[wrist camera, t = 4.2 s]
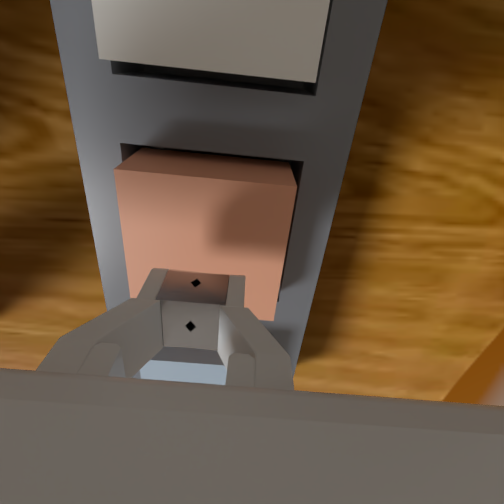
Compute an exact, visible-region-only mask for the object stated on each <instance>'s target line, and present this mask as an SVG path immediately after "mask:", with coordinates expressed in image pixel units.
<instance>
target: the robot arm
mask: <svg viewBox="0 0 504 504" xmlns="http://www.w3.org/2000/svg"><path fill="white" fill-rule="evenodd" d="M229 277H230V278H229ZM245 279H246V277H245V275H225V274H211V273H200V272H193V271H184V270H175V269H165V268H153V269H151V271H150V273H149V275H148V277H147V279H146V281H145V283H144V284H143V286H142V288H141V290H140V292H139V294H138V296H137V298H131V299H129V300H127V301H125V302H123V303H121V304H120V305H118V306H116V307H114V308H112V309H111V310H109V311H107V312H105V313H103V314H102V315H100V316H98V317H96V318H94V319H93V320H91V321H89V322H87V323H85V324H83V325H82V326H80V327H78V328H76V329H74V330H73V331H71V332H69V333H67V334H65V335H64V336H62V337H60V338H59V339H58V341H57V342H56V343H55V345H54V346H53V348H52V349H51V350H50V352H49V353H48V354H47V356H46V357H45V358H44V360H43V361H42V363H41V364H40V365H39V367H38V368H37V369H36V371H32V370H19V369H6V368H0V504H504V406H494V405H480V404H468V403H467V404H466V403H454V402H442V401H428V400H415V399H402V398H389V397H376V396H363V395H349V394H335V393H321V392H308V391H295V390H294V385H293V376H292V367H291V358H290V356H289V354H288V353H287V352H286V351H285V350H284V349H283V347H282V346H281V345H280V344H279V343H278V342H277V340H276V339H275V338H274V337H273V336H272V335H271V334H270V332H269V331H268V330H267V329H266V328H265V327H264V325H263V324H262V323H261V322H260V321H259V320H258V318H257V317H256V316H255V315H254V314H253V313H252V311H251V310H250V309H249V308H245V307H244V297H245ZM163 346H164V347H183V348H196V349H205V350H215V351H218V354H219V356H220V358H221V360H222V362H223V364H224V366H225V368H226V369H227V375H226V383H225V385H218V384H205V383H192V382H178V381H165V380H152V379H138V378H132V377H133V376H134V375H135V374H136V373H137V372H138V371H139V370H140V369H141V368H142V367H143V366H144V365H145V364H146V363H148V362H149V361H150V360H151V359H152V358H153V357H154V356H155V355H156V354H157V353H158V352H159V351H160V350H161V349H162V348H163Z"/></svg>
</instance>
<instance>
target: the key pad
mask: <svg viewBox="0 0 504 504" xmlns="http://www.w3.org/2000/svg"><path fill="white" fill-rule="evenodd" d="M50 4H51V9H52V15H53V20H54V26H55V31H56V36H57V42H58V47H59V53H60V58H61V63H62V69H63V74H64V80H65V85H66V91H67V96H68V101H69V107H70V112H71V118H72V123H73V129H74V134H75V139H76V145H77V150H78V156H79V161H80V166H81V172H82V177H83V183H84V188H85V194H86V199H87V204H88V210H89V215H90V221H91V226H92V232H93V237H94V242H95V248H96V253H97V259H98V264H99V269H100V275H101V280H102V286H103V291H104V297H105V302H106V307H107V311H109V310H111V309H112V308H114V307H116V306H118V305H120V304H121V303H123V302H125V301H127V300H129V299H130V291H129V284H128V276H127V268H126V261H125V253H124V246H123V238H122V230H121V223H120V215H119V207H118V200H117V192H116V185H115V177H114V168H116V167H117V166H118V165H120V164H121V163H122V162H124V161H125V160H126V159H128V158H129V157H130V156H132V155H133V154H134V153H136V152H137V151H138V150H139V149H141V148H151V149H161V150H171V151H182V152H192V153H202V154H212V155H222V156H232V157H242V158H252V159H262V160H272V161H282V162H289V164H290V167H291V170H292V173H293V176H294V179H295V182H296V185H297V191H296V196H295V202H294V208H293V213H292V219H291V225H290V230H289V236H288V242H287V247H286V253H285V259H284V264H283V270H282V276H281V281H280V287H279V293H278V298H277V304H276V310H275V315H274V321H267V320H259V321H260V322H261V323H262V324H263V325H264V327H265V328H266V329H267V330H268V331H269V332H270V334H271V335H272V336H273V337H274V338H275V339H276V340H277V342H278V343H279V344H280V345H281V346H282V347H283V349H284V350H285V351H286V352H287V353H288V354H289V356H290V358H291V367H292V376H294V372H295V368H296V364H297V360H298V356H299V352H300V348H301V344H302V340H303V336H304V332H305V328H306V324H307V320H308V316H309V312H310V308H311V304H312V300H313V296H314V292H315V288H316V284H317V280H318V276H319V272H320V268H321V264H322V260H323V256H324V252H325V248H326V244H327V240H328V236H329V232H330V228H331V224H332V220H333V216H334V212H335V208H336V204H337V200H338V196H339V192H340V188H341V184H342V180H343V176H344V172H345V168H346V164H347V160H348V156H349V152H350V148H351V144H352V140H353V136H354V132H355V128H356V124H357V120H358V116H359V112H360V108H361V104H362V100H363V96H364V92H365V88H366V84H367V80H368V76H369V72H370V68H371V64H372V60H373V56H374V52H375V48H376V44H377V40H378V36H379V32H380V28H381V24H382V20H383V16H384V12H385V8H386V4H387V0H330V3H329V9H328V14H327V20H326V26H325V32H324V37H323V43H322V49H321V54H320V60H319V66H318V71H317V77H316V83H313V82H304V81H295V80H285V79H276V78H267V77H258V76H249V75H240V74H231V73H222V72H213V71H204V70H195V69H186V68H177V67H167V66H158V65H149V64H140V63H131V62H122V61H113V60H104V59H99V55H98V47H97V40H96V32H95V24H94V17H93V9H92V1H91V0H50ZM132 378H138V379H141V375H140V370H139V371H138V372H137V373H136V374H135V375H134V376H133V377H132Z"/></svg>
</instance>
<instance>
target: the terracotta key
mask: <svg viewBox="0 0 504 504" xmlns="http://www.w3.org/2000/svg"><path fill="white" fill-rule="evenodd" d="M114 177H115V185H116V192H117V200H118V207H119V215H120V223H121V230H122V238H123V246H124V253H125V261H126V268H127V276H128V284H129V291H130V299H131V298H137V296H138V294H139V292H140V290H141V288H142V286H143V284H144V283H145V281H146V279H147V277H148V275H149V273H150V271H151V269H153V268H165V269H175V270H184V271H193V272H200V273H211V274H225V275H245V277H246V279H245V297H244V307H245V308H249V309H250V310H251V311H252V313H253V314H254V315H255V316H256V317H257V318H258V320H267V321H274V315H275V310H276V304H277V298H278V293H279V287H280V281H281V276H282V270H283V264H284V259H285V253H286V247H287V242H288V236H289V230H290V225H291V219H292V213H293V208H294V202H295V196H296V191H297V185H296V182H295V179H294V176H293V173H292V170H291V167H290V164H289V162H282V161H272V160H262V159H252V158H242V157H232V156H222V155H212V154H202V153H192V152H182V151H171V150H161V149H151V148H141V149H139V150H138V151H137V152H136V153H134V154H133V155H132V156H130V157H129V158H128V159H126V160H125V161H124V162H122V163H121V164H120V165H118V166H117V167H116V168H114ZM229 278H230V277H229Z"/></svg>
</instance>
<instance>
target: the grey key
mask: <svg viewBox="0 0 504 504" xmlns="http://www.w3.org/2000/svg"><path fill="white" fill-rule="evenodd" d="M91 1H92V9H93V17H94V24H95V32H96V40H97V47H98V55H99V59H104V60H113V61H122V62H131V63H140V64H149V65H158V66H167V67H177V68H186V69H195V70H204V71H213V72H222V73H231V74H240V75H249V76H258V77H267V78H276V79H285V80H295V81H304V82H313V83H316V77H317V71H318V66H319V60H320V54H321V49H322V43H323V37H324V32H325V26H326V20H327V14H328V9H329V3H330V0H91Z"/></svg>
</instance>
